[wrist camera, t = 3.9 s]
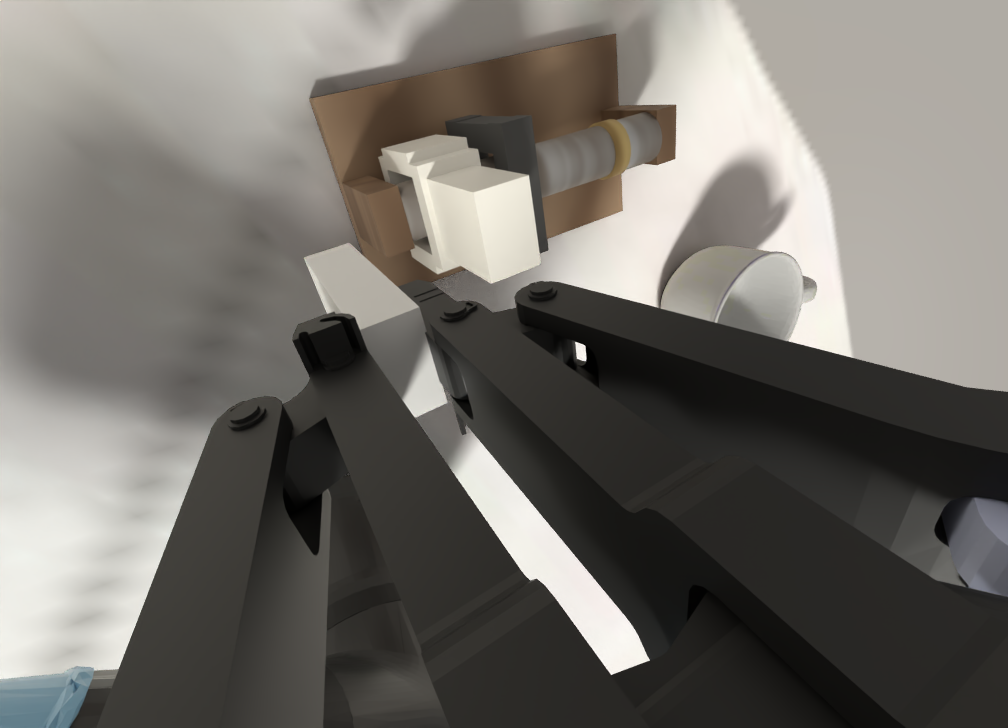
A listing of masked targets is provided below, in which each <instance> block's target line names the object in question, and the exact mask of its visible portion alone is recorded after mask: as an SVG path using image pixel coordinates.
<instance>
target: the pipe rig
mask: <svg viewBox="0 0 1008 728" xmlns="http://www.w3.org/2000/svg"><path fill="white" fill-rule="evenodd" d="M309 100H310V103H311V106H312V109H313V112H314V114H315V117H316V120H317V123H318V126H319V129H320V132H321V135H322V138H323V141H324V143H325V146H326V149H327V152H328V155H329V158H330V161H331V164H332V167H333V169H334V172H335V175H336V178H337V181H338V184H339V187H340V190H341V193H342V195H343V198H344V201H345V204H346V207H347V210H348V213H349V216H350V219H351V222H352V224H353V227H354V230H355V233H356V236H357V239H358V242H359V245H360V248H361V250H362V253H363V256H364V257H365V258H366V259H367V260H369V261H370V262H371V263H372V264H373V265H374V266H375V267H376V268H377V269H378V270H380V271H381V272H382V273H383V274H384V275H385V276H386V277H387V278H388V279H389V280H390V281H392V282H393V283H394V284H395V285H396V286H397V287H398V286H401V285H404V284H407V283H409V282H412V281H415V280H423V281H428V282H433V281H436V280H438V279H441V278H444V277H446V276H449V275H452V274H455V273H457V272H460V271H463V270H465V268H463V267H462V266H459V267H456V268H454V269H451V270H448V271H445V272H443V273H440V274H436V273H435V272H433V271H432V270H430V269H429V268H427V267H426V266H424V265H423V264H422V263H420V262H419V261H417V260H416V259H414V258H413V257H412V255H411V251H410V250H411V249H414V248H415V245H414V242H413V241H416V240H419V239H422V238H425V237H428V236H427V232H426V228H425V225H424V221H423V217H422V213H421V209H420V206H419V202H418V198H417V194H416V191H415V187H414V183H413V179H412V180H408V181H405V182H401V183H398V184H391V183H388V182H385V179H384V176H383V172H382V169H381V165H380V162H379V159H378V157H379V156H383V154H382V151H381V149H382V148H386V147H389V146H393V145H397V144H401V143H405V142H409V141H412V140H416V139H420V138H424V137H428V136H432V135H435V134H436V135H447V136H448V134H447V129H446V125H445V121H448V120H452V119H456V118H460V117H464V116H468V115H481V116H516V115H532V123H533V131H534V139H535V147H536V155H537V163H538V171H539V179H540V186H541V194H542V202H543V210H544V218H545V226H546V234H547V239H548V238H551V237H554V236H556V235H559V234H562V233H564V232H567V231H570V230H572V229H575V228H578V227H580V226H583V225H586V224H588V223H591V222H594V221H596V220H599V219H602V218H604V217H607V216H610V215H612V214H615V213H618V212H620V211H623V207H622V181H621V174H622V173H623V172H624V171H625V170H626V169H629V168H632V167H635V166H638V165H641V164H652V165H659V164H662V163H665V162H668V161H671V160H673V159H675V146H676V105H626V106H619V102H618V76H617V50H616V34H612V35H606V36H601V37H597V38H592V39H587V40H583V41H578V42H573V43H569V44H564V45H559V46H554V47H550V48H545V49H540V50H536V51H531V52H526V53H522V54H517V55H512V56H507V57H503V58H498V59H493V60H489V61H484V62H479V63H475V64H470V65H465V66H460V67H456V68H451V69H446V70H442V71H437V72H432V73H428V74H423V75H418V76H413V77H409V78H404V79H399V80H395V81H390V82H385V83H381V84H376V85H371V86H366V87H362V88H357V89H352V90H348V91H343V92H338V93H333V94H329V95H324V96H319V97H315V98H310V99H309ZM488 155H489V157H487V158H484V159H480V162H481V166H483V167H489V168H494V169H495V163H494V157H493V154H490V153H488Z"/></svg>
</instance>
